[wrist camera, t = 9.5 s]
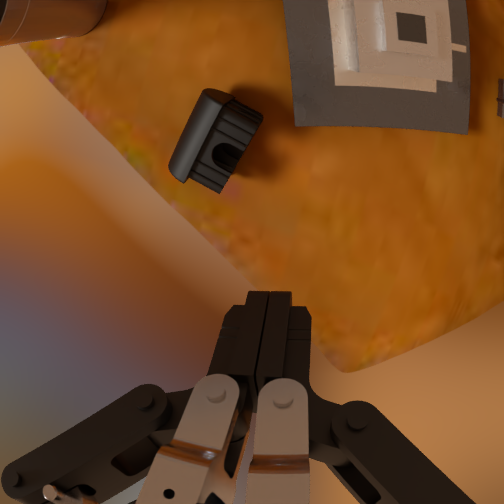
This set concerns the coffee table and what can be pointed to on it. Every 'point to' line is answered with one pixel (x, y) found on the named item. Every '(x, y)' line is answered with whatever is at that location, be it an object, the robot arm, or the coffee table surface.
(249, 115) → the end cap
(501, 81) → the dial indicator stand
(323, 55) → the grey flat square slab
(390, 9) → the cover
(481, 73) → the coffee table surface
